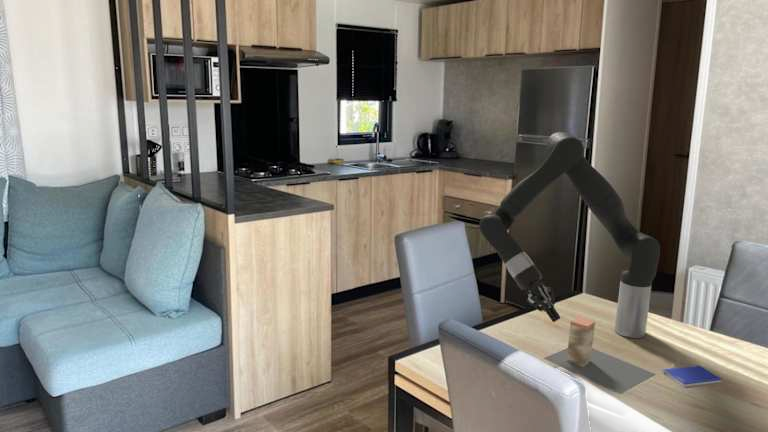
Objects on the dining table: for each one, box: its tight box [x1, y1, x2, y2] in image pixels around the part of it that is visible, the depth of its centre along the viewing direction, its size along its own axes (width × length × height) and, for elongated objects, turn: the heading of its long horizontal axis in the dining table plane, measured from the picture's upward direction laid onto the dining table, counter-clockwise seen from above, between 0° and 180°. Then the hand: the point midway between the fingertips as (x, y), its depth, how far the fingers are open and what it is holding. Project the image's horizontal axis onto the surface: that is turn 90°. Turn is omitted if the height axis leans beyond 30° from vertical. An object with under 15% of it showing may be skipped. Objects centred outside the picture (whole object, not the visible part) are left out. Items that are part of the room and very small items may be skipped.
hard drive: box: [662, 365, 723, 387], centre depth 156 cm, size 2×8×12 cm
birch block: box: [567, 316, 596, 367], centre depth 161 cm, size 5×5×12 cm
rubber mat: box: [543, 347, 656, 394], centre depth 160 cm, size 18×24×1 cm
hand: (557, 320), depth 165 cm, fingers closed
